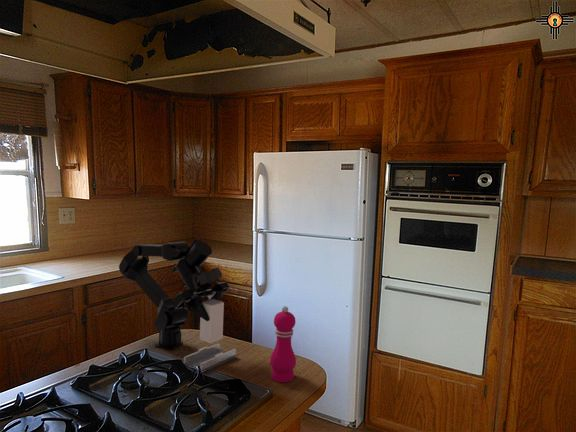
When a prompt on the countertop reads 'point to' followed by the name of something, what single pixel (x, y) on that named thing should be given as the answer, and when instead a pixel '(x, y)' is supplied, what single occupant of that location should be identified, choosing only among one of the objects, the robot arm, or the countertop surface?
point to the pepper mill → (283, 347)
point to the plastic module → (212, 321)
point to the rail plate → (209, 357)
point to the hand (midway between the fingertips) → (215, 318)
